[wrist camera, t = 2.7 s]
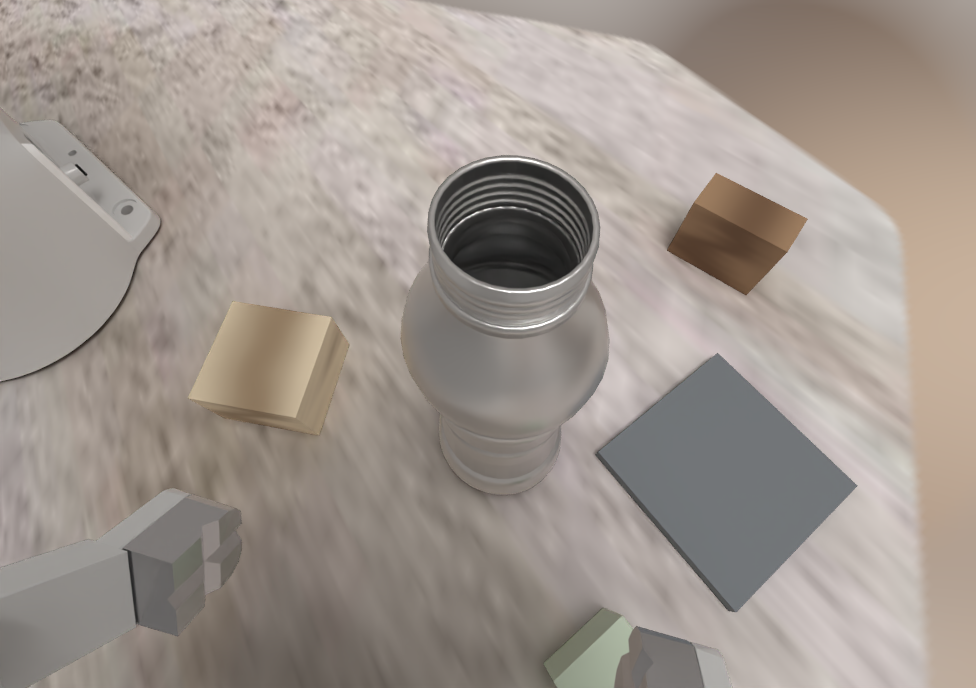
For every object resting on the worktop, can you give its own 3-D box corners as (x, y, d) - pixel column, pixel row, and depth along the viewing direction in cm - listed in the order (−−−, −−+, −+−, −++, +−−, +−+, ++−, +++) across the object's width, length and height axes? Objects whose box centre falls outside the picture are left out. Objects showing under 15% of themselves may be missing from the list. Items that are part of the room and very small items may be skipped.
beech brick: (225, 418, 29) (187, 398, 25) (262, 331, 31) (232, 300, 28) (320, 436, 29) (295, 417, 25) (350, 346, 31) (331, 317, 27)
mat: (595, 454, 28) (598, 451, 27) (712, 358, 30) (717, 353, 30) (728, 610, 24) (736, 612, 24) (847, 487, 27) (857, 485, 26)
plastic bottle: (493, 526, 26) (501, 444, 8) (420, 432, 28) (295, 200, 10) (578, 451, 28) (744, 242, 10) (503, 368, 30) (523, 69, 12)
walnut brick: (666, 250, 34) (693, 202, 29) (686, 223, 35) (716, 172, 30) (745, 295, 32) (787, 251, 28) (764, 265, 33) (807, 218, 29)
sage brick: (543, 663, 24) (553, 681, 20) (602, 607, 25) (622, 615, 21) (598, 744, 22) (619, 779, 19) (658, 681, 23) (690, 704, 20)
